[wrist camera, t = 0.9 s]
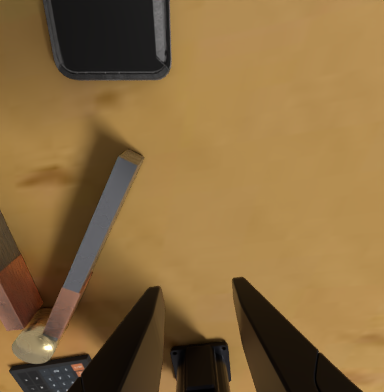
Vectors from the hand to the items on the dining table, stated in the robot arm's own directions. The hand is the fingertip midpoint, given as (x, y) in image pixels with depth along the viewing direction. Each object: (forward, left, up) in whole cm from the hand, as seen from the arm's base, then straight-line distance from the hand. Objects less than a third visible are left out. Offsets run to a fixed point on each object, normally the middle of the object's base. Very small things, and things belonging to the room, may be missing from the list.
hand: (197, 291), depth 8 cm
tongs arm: (-5, +11, -12) cm, 17 cm away
